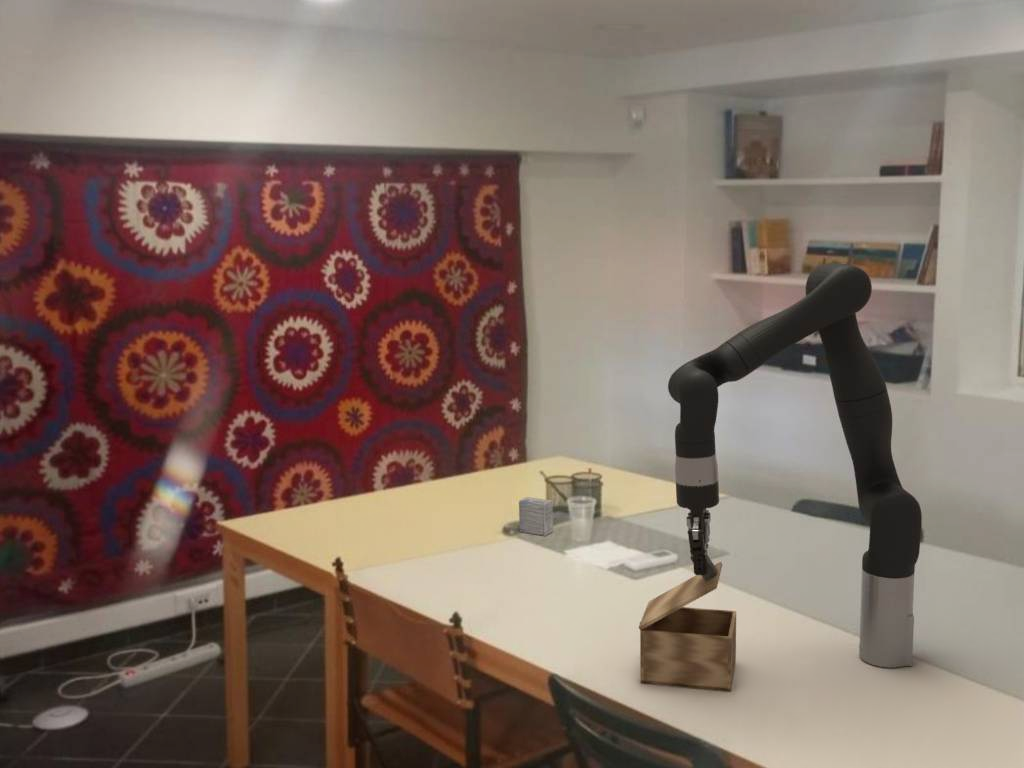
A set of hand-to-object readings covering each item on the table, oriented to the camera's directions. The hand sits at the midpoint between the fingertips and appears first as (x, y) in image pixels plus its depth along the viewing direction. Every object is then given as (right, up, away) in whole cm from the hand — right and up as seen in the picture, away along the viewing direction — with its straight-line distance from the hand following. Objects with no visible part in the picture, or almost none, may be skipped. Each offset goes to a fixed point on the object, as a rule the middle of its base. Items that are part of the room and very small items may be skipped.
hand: (701, 571), depth 199 cm
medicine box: (-28, -5, +90) cm, 95 cm away
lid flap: (-3, -5, +2) cm, 6 cm away
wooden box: (-2, -19, +4) cm, 20 cm away
